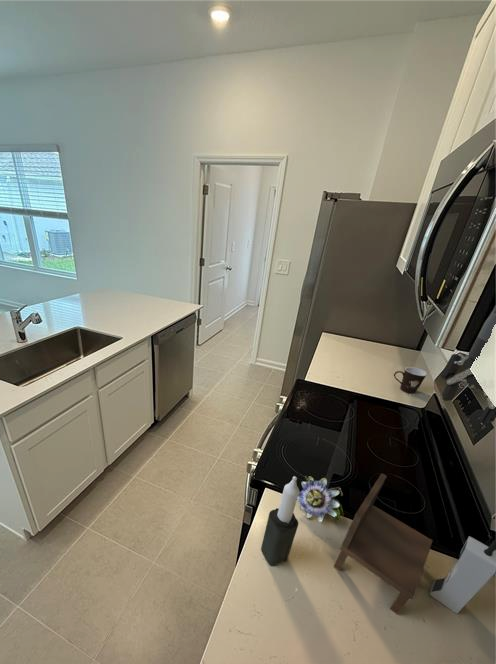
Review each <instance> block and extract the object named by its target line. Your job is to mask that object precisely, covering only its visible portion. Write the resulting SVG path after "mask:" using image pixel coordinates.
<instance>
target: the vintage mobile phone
mask: <svg viewBox="0 0 496 664" xmlns="http://www.w3.org/2000/svg"><path fill="white" fill-rule="evenodd" d="M459 552H460V553H459V557H458V560H457V562H456V563H455V564H454V565H453V567H452V568H451V569H450V570H449V572H448V573H447V574H446V576H445V577H443V578H437V579H435V580H434V581H433V583H432V586H431V589H430V591H429V596H431V597H432V598H433V599H435V600H436V601H438V602H439V603H440V604H442V605H443V606H444V607H446V608H448V609H449V610H450V611H452V612H453V613H454V614H458V613H460V611H462V609H463V608H464V607H465V606H466V605H467V604H468V603H469V602H470V600H471V599H473V597H474V596H475V595H476V594H477V593H478V592H479V591H480V590H481V589H482V588H483V587H484V586H485V584H487V582H488V581H490V579H491V578H492V577H493V576H494V575H495V574H496V539H494V540H493V541H492V542H491V544H490V545H489V546H488V545H486V544H484V543H483V542H481V541H480V540H477V539H475V538H474V537H472V536H470V535H469V536H468V537H467V539H466V541H465V543H464V545H463V547H462V548H461V550H460V551H459Z"/></svg>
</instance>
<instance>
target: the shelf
mask: <svg viewBox="0 0 496 664" xmlns="http://www.w3.org/2000/svg"><path fill="white" fill-rule="evenodd" d="M387 477H388V476H387V475H386V474H385V473H380V475H379V477H378V478H377V480H376V481H375V482H374V485H373V486H372V488H371V489H370V491H369V492H368V494H367V495H366V497H365V499H364V500H363V502H362V503H361V505H360V507H359V508H358V510H357V511H356V513H355V514H354V517H353V518H352V521H351V523H350V524H349V525H350V526H349V528H348V530H347V532H346V535H345V537H344V538H343V541H342V543H341V546H340V548H339V550H340V551H339V554H338V556H337V558H336V560H335V562H334V565H333V567H334V568H335V569H337V570H338V571H339V572H340V571H341V570H342V568H343V567H344V565H345V563H346V560H347V559H348V557H350V558H351V559H352V560H354V561H355V562H357V563H358V564H359V565H361V566H363V567H364V568H365V569H367V570H368V571H369V572H371V573H372V574H374V575H375V576H377V577H378V578H379V579H381V580H382V581H384V582H385V583H386V584H388V585H389V586H391V587H392V588H393V589H395V590H396V591H398V592H399V593H398V594H397V595H396V597H395V598H394V600H393V601H392V603H391V605H390V606H389V607H390V608H389V610H390V611H392V612H394V614H396V615H399V614H400V612H401V611H402V610H403V608H404V607H405V606H406V605H407V603H408V601H409V600H410V601H411V600H413V598H414V597H415V596H416V591H417V589H418V587H419V583H420V580H421V576H422V575H423V571H424V568H425V565H426V563H427V559H428V556H429V553H430V549H431V547H432V544H433V539H431V538H429V537H428V536H426V535H424V534H422V533H421V532H419V531H417V530H416V529H414V528H412V527H411V526H409V525H407V524H406V523H404V522H402V521H401V520H399V519H397V518H395V517H394V516H392V515H390V514H389V513H387V512H385V511H384V510H382V509H381V508H378V507H377V506H375V505H374V504H375V502H376V500H377V499H378V496H379V494H380V492H381V490H382V487H383V485H384V483H385V481H386V479H387Z"/></svg>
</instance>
